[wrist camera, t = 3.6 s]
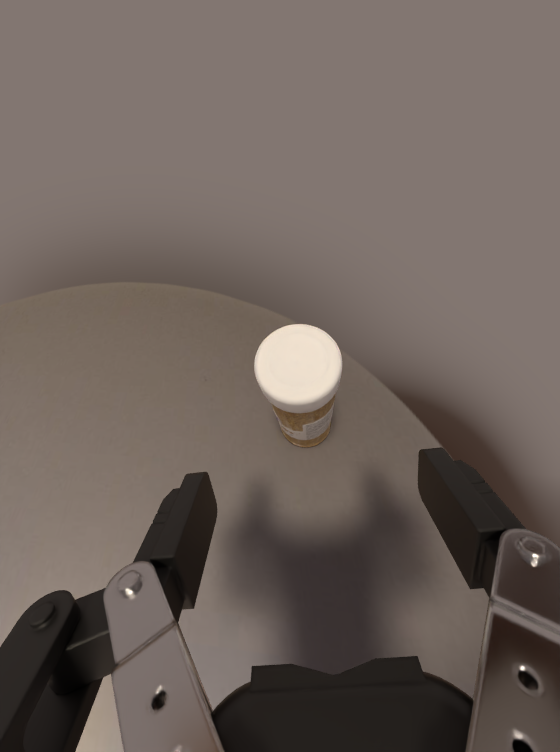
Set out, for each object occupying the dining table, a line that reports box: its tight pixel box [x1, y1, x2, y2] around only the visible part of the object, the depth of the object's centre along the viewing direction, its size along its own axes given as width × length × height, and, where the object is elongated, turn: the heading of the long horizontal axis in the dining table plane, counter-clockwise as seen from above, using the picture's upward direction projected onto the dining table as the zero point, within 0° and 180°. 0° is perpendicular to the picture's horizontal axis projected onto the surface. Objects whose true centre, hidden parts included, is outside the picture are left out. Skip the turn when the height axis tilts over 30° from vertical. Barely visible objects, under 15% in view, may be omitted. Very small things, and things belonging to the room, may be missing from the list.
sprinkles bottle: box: [254, 324, 342, 447], centre depth 22 cm, size 5×5×13 cm
